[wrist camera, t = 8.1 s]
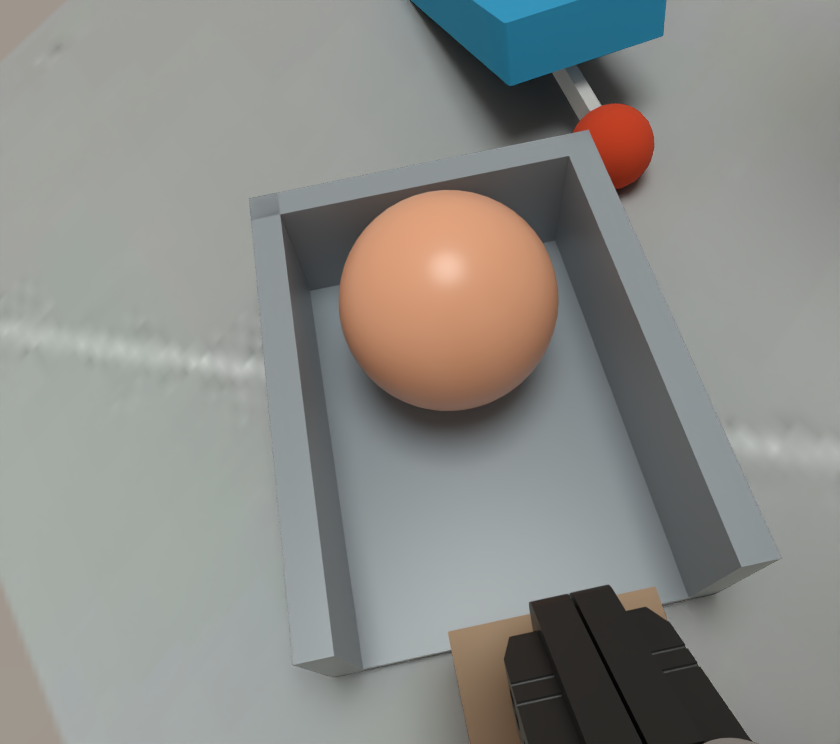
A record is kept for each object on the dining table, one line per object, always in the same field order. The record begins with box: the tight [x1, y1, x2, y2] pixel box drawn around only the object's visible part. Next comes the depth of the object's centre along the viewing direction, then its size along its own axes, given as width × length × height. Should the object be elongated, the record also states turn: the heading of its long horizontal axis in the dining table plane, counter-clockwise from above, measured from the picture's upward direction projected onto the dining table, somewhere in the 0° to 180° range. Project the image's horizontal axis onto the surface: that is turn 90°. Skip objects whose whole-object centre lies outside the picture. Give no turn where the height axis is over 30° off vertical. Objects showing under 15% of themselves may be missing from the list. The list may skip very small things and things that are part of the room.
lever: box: [411, 0, 666, 189], centre depth 31 cm, size 7×7×18 cm
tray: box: [249, 130, 781, 677], centre depth 22 cm, size 15×12×5 cm
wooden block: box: [448, 587, 668, 744], centre depth 16 cm, size 4×4×7 cm
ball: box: [339, 190, 559, 411], centre depth 21 cm, size 7×7×7 cm
